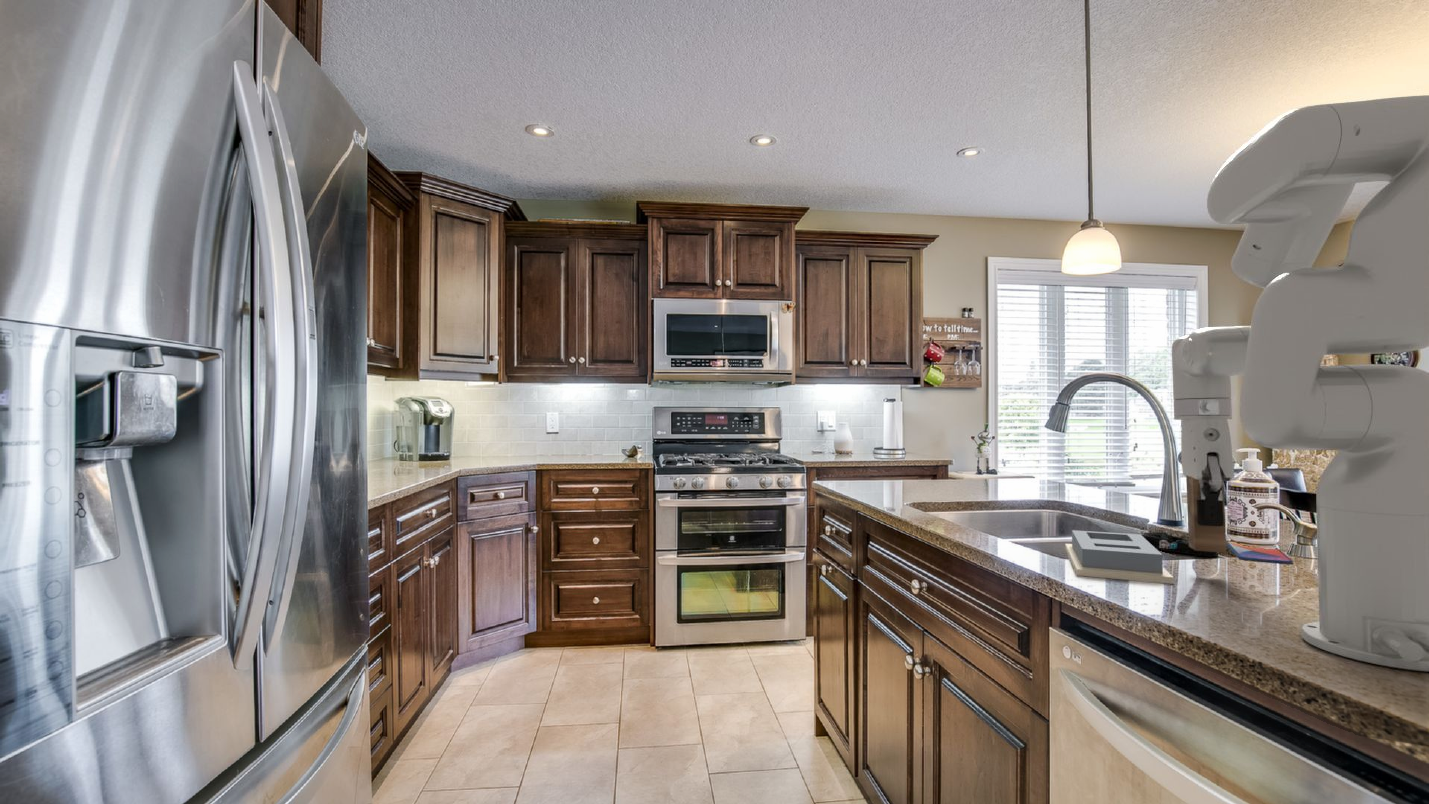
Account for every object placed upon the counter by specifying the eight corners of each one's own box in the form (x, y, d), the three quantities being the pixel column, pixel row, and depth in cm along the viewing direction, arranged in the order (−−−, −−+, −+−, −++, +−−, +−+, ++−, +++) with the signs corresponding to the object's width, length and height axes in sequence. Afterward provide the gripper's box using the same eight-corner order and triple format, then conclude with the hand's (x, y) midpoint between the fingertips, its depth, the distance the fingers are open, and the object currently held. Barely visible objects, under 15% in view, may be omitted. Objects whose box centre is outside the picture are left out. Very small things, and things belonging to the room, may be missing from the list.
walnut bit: (1226, 552, 100) (1223, 476, 101) (1195, 550, 102) (1192, 475, 102) (1218, 548, 104) (1215, 474, 104) (1188, 546, 105) (1186, 473, 106)
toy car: (1222, 560, 114) (1221, 537, 114) (1141, 553, 120) (1141, 531, 120) (1212, 551, 121) (1212, 529, 121) (1137, 545, 127) (1136, 524, 127)
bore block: (1173, 583, 98) (1173, 557, 98) (1076, 575, 103) (1076, 550, 103) (1145, 554, 118) (1144, 532, 118) (1065, 548, 123) (1065, 528, 123)
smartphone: (1239, 562, 113) (1239, 556, 113) (1224, 545, 126) (1224, 540, 126) (1294, 567, 110) (1294, 561, 110) (1273, 549, 122) (1273, 544, 122)
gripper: (1248, 408, 95) (1253, 532, 94) (1215, 411, 110) (1219, 518, 109) (1187, 409, 98) (1191, 529, 97) (1163, 412, 113) (1166, 516, 112)
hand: (1206, 522), depth 103 cm, fingers closed on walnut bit, 4 cm apart
